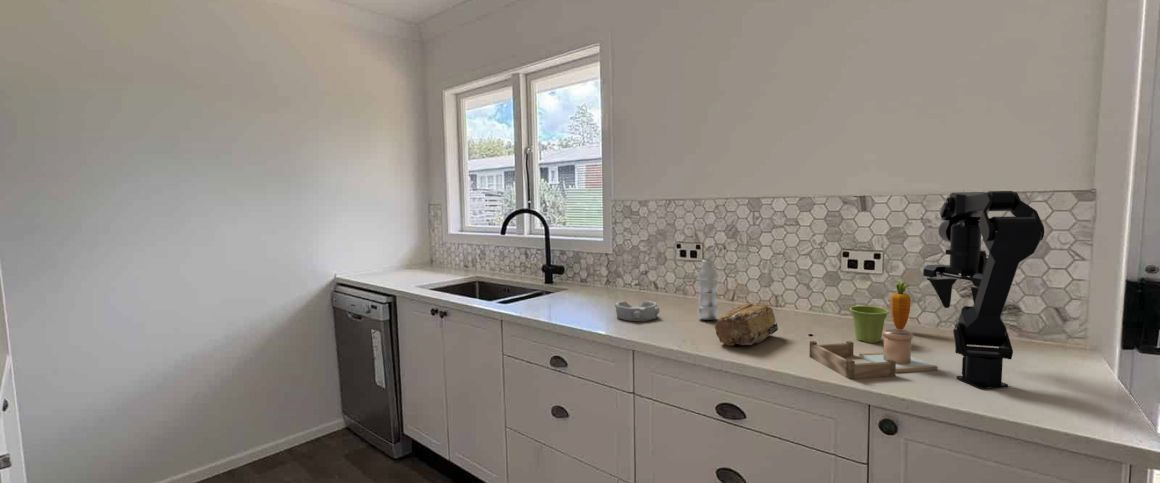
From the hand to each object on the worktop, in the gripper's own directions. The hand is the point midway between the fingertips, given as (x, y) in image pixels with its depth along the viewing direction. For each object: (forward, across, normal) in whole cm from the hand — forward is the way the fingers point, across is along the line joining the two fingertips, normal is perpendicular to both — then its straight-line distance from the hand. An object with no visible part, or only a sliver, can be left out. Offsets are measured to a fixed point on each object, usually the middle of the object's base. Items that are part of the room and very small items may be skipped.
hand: (962, 311), depth 122 cm
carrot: (+13, +28, -6) cm, 31 cm away
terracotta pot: (+12, +3, +14) cm, 19 cm away
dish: (+13, +61, +65) cm, 90 cm away
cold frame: (+12, +3, +26) cm, 29 cm away
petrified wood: (+13, +28, +41) cm, 52 cm away
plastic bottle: (+13, +53, +43) cm, 69 cm away
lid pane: (+12, +3, +14) cm, 19 cm away
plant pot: (+13, +22, +8) cm, 27 cm away
